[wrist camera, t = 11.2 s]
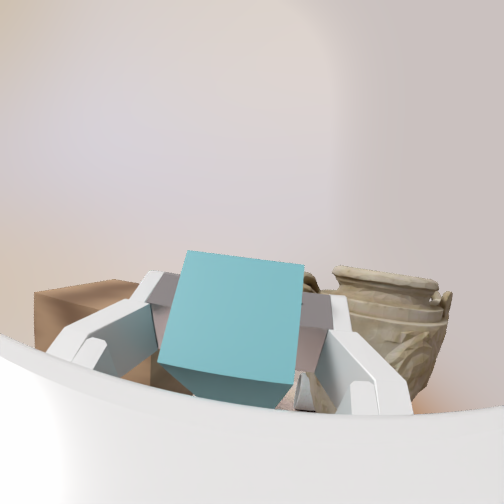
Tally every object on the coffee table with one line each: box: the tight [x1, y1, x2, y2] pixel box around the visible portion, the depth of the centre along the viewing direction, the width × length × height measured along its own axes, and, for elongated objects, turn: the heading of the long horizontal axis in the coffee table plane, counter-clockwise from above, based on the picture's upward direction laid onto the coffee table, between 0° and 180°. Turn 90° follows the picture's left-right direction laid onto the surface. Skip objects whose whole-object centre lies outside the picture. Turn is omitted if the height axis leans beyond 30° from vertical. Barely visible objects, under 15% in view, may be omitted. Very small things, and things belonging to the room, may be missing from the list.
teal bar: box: [157, 250, 304, 409], centre depth 18 cm, size 3×26×3 cm
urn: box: [302, 265, 452, 414], centre depth 36 cm, size 24×18×30 cm
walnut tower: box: [34, 279, 193, 396], centre depth 23 cm, size 9×12×26 cm
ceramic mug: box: [294, 373, 315, 411], centre depth 61 cm, size 11×8×8 cm
